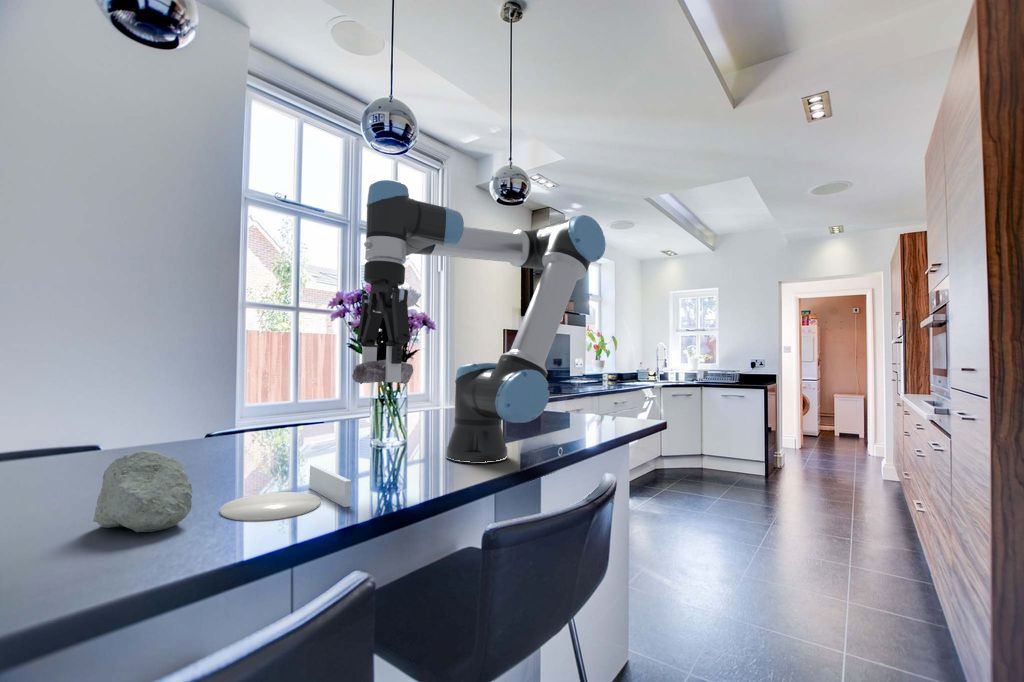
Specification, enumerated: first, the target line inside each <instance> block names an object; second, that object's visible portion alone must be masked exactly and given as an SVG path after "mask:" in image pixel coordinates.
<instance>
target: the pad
mask: <svg viewBox="0 0 1024 682" xmlns="http://www.w3.org/2000/svg"><path fill="white" fill-rule="evenodd" d="M321 503H322V500H321V497H319V496H318V495H315V494H312V493H307V492H298V491H281V492H278V491H277V492H268V493H267V492H265V493H259V494H252V495H247V496H243V497H239V498H236V499H232V500H230V501H228V502H226V503H224V504H223V505H221V507H220V509H219V514H220V516H221V517H223V518H226V519H228V520H229V519H230V520H234V521H244V522H246V521H247V522H249V521H250V522H259V521H273V520H281V519H288V518H292V517H297V516H301V515H305V514H307V513H310V512H312V511H314V510H316V509H317V508H319V507H320V505H321Z"/></svg>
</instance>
